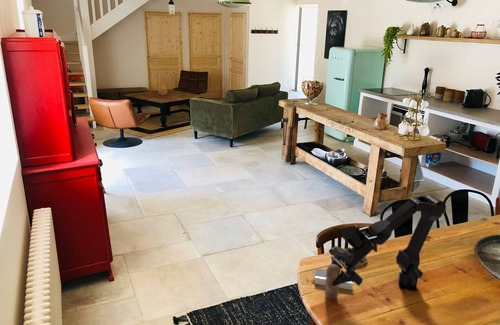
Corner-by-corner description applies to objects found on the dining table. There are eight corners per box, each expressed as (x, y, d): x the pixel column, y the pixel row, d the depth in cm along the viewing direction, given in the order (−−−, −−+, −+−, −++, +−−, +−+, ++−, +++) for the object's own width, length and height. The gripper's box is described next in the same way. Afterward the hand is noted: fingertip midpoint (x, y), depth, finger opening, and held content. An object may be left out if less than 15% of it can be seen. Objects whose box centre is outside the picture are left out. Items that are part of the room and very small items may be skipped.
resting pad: (332, 271, 173) (332, 270, 173) (331, 281, 166) (331, 280, 166) (315, 269, 174) (315, 268, 174) (314, 278, 168) (314, 277, 168)
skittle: (338, 291, 158) (341, 262, 153) (337, 300, 153) (340, 270, 149) (325, 289, 159) (327, 260, 155) (324, 297, 155) (327, 267, 150)
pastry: (356, 270, 174) (357, 262, 173) (343, 263, 179) (344, 256, 178) (368, 262, 180) (369, 255, 179) (355, 256, 185) (356, 248, 184)
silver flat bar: (352, 288, 162) (353, 282, 161) (352, 289, 161) (352, 283, 160) (314, 282, 166) (315, 276, 165) (314, 283, 165) (315, 277, 164)
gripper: (335, 229, 158) (307, 256, 159) (358, 254, 141) (326, 285, 142) (351, 244, 162) (324, 271, 163) (375, 270, 145) (345, 300, 146)
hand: (329, 281), depth 154 cm, fingers closed on skittle, 5 cm apart
